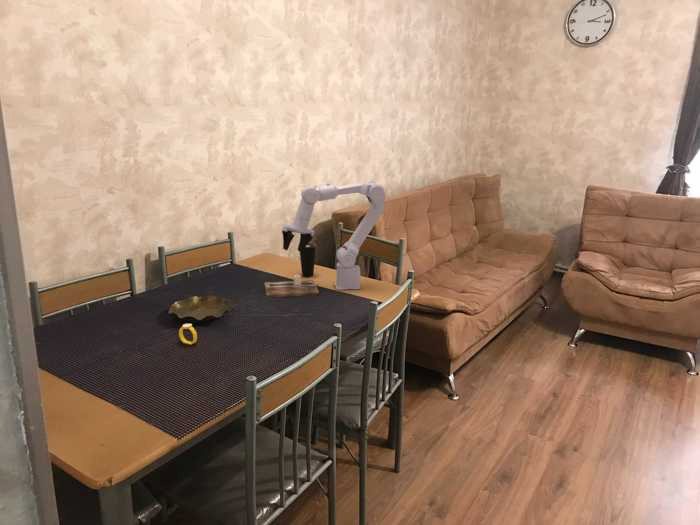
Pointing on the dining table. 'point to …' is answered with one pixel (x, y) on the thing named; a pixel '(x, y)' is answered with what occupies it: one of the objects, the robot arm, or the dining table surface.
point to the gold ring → (189, 326)
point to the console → (290, 288)
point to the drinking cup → (308, 259)
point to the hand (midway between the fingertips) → (292, 250)
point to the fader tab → (297, 280)
